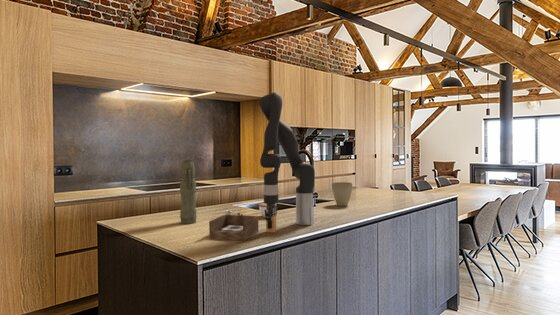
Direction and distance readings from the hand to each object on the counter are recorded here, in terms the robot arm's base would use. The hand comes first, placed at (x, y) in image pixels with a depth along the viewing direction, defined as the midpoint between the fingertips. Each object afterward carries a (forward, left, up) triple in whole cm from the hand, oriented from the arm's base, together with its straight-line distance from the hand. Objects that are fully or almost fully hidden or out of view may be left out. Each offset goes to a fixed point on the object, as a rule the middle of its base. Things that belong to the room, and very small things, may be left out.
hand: (271, 227), depth 190 cm
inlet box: (+15, +11, -2) cm, 19 cm away
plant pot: (-24, -91, -2) cm, 94 cm away
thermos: (+52, -9, -2) cm, 53 cm away
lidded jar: (+14, -37, -3) cm, 40 cm away
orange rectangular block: (0, 0, -2) cm, 2 cm away
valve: (+27, -13, -3) cm, 30 cm away
